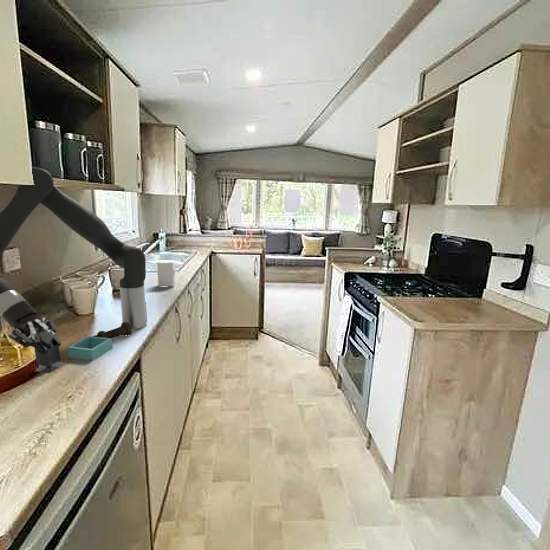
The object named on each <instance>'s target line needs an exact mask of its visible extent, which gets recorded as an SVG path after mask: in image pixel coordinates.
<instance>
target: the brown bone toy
mask: <svg viewBox="0 0 550 550" xmlns="http://www.w3.org/2000/svg"><path fill="white" fill-rule="evenodd" d="M96 333H97V334H95V335H92V337H101V338H111V339H112V340H113V339H114V338H117V337H121V336H125V335H127V336H126V337H129V336H128V335H130V336H131V335H132V333H133V330H132V328H131V326H130V324H129V323H127V322H121V323H120V326H119V327H116V328H113V329H110V330H107V331H104V330H100V331H98V332H96Z"/></svg>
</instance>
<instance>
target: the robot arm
mask: <svg viewBox="0 0 550 550" xmlns="http://www.w3.org/2000/svg"><path fill="white" fill-rule="evenodd" d="M32 174H33V180H34V184H35V185H16V184H15V185H16V187H17V190H16V192H15V194H14V196H13V197H12V199H11V200H10V201H9V203H7V205H6V206H5V207H4V208H3V209H2V210H1V211H0V264H1V262H2V259H3V255H4V252H5V251H6V250H7V248H8V246H9V245H11V242H12V241H13V239H14V238H15V236H16V235H17V233H18V232H19V230H20V228H21V227H22V226H23V224H24V223H25V221H26V220H27V218H28V217H30V215H31V213H33V211H34V210H35V209H36V208H37V207H38V206H39V204H41V205H42V206H44V207H45V208H46V209H47V210H49V211H50V212H52V213H53V214H54V215H55V216H56V217H57V218H58V219H59V220H60V221H61V222H63V223H64V224H65V225H66V226H68V227H69V228H70V229H71V230H72V231H74V233H76V234H78V235H79V236H80V237H82V238H83V239H84V240H86V241H87V242H89V243H90V244H91V245H93V246H94V247H96V248H98V250H100V251H102V252H103V253H104V254H105V255H106V256H107V257H108V258H109V259H111V261H112V262H114V264H116V265H117V266H118V267H119V268H121V269H123V277H122V278H120V280H119V293H120V305H121V321H122V322H121V323H123V322H127V323H129V324H130V326H131V328H132V329H134V330H138V329H137V328H140V329H142V328H141V327H143V328H145V327H146V326H147V323H148V312H147V302H146V293H145V280H146V274H147V272H146V269H147V268H146V267H147V266H146V256H145V253H144V251H143V250H142V249H141V248H140V247H137V246H130V245H127V244H126V243H123V242H122V241H121V240H120V239H118V238H117V237H115V236H114V235H113V234H112V232H111V231H110V229H109V228H108V226H107V224H106V223H105V222H104V220H102V219H101V218H100V216H98V215H97V214H96V213H94V212H93V211H92V210H91V209H89V208H88V207H86V206H85V205H83V203H82V204H81V203H80V202H78V201H77V200H75V199H74V198H71V197H70V196H69V195H66V194H65V193H64V192H63V191H61V190H60V189H59V188H58V187H57V186H56V185H55V184H54V178H53V176H52V174H51V173H50V172H49V171H47V170H46V169H44V168H41V167H37V166H32ZM0 317H1V318H2V319H4V321H5V322H6V323H7V324H8V325H9V326H10V327H11V328H14V329H13V330H12V331H11V332H10V333H9V334H8V337H9V338H10V339H12V341H14V342H16V343H18V344H19V345H20V346H22V347H24V348H28V347H31V348H33V349H34V350H35V349H36V350H37V351H38V352H39V353H40V354H42V355H44V354H46V353H47V352H48V349H47V348H46V347H45V346H44V345H43V344H42V343H41V342H39V338H38V331H39V330H42V329H52V336H53V344H58V345H59V347H60V346H61V345H62V342H61V340H60V339H59V338H58V337H57V336H56V335H55V334H56V333H57V332H58V328H57V326H56V324H55V322H54V320H53V319H52V317H51V316H49V315H48V316H46V317H43V318H42V317H40V316H39V315H38V314H37V312H36V310H35V308H33V306H32V305H31V304H30V303H29V302H28V301H27V300H26V299H25V298H24V297H23V295H21V294H20V293H19V292H18V291H16V289H14V287H12V285H10V283H9V282H8V281H6V280H5V279H4V278H2V277H0ZM146 322H147V323H146ZM145 325H146V326H145ZM144 326H145V327H144Z"/></svg>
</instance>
